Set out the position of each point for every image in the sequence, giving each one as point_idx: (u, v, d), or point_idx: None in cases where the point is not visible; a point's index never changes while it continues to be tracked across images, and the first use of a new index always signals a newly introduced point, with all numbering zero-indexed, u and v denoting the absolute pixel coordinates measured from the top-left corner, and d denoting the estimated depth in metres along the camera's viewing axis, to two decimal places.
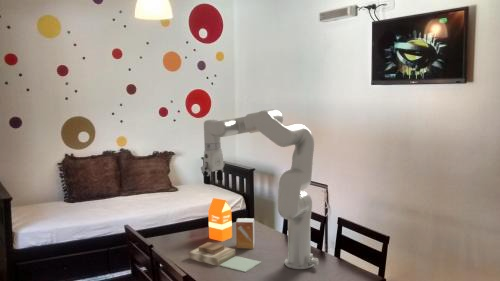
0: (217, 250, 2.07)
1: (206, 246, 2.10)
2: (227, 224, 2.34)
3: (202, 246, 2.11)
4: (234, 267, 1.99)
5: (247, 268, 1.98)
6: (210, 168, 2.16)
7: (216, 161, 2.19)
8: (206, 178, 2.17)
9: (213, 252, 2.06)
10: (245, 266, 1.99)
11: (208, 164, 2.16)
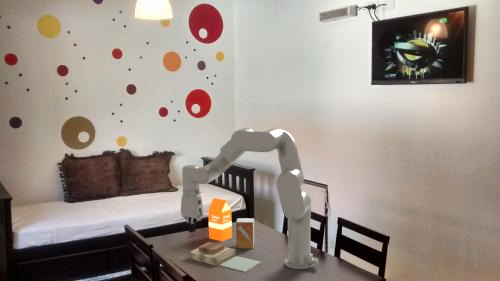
0: (217, 250, 2.07)
1: (206, 246, 2.10)
2: (227, 224, 2.34)
3: (202, 246, 2.11)
4: (234, 267, 1.99)
5: (247, 268, 1.98)
6: (202, 213, 2.14)
7: None
8: (194, 225, 2.15)
9: (213, 252, 2.06)
10: (245, 266, 1.99)
11: (200, 215, 2.14)
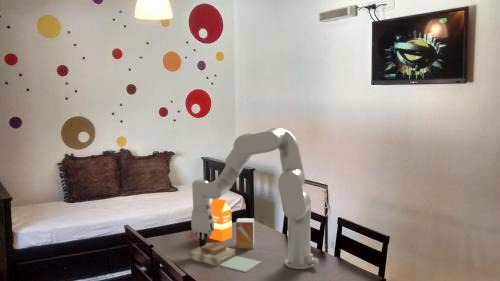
0: (219, 251, 2.07)
1: (208, 247, 2.09)
2: (227, 224, 2.34)
3: (204, 247, 2.10)
4: (234, 267, 1.99)
5: (247, 268, 1.98)
6: (213, 228, 2.12)
7: None
8: (205, 240, 2.13)
9: (215, 253, 2.05)
10: (245, 266, 1.99)
11: (211, 230, 2.11)
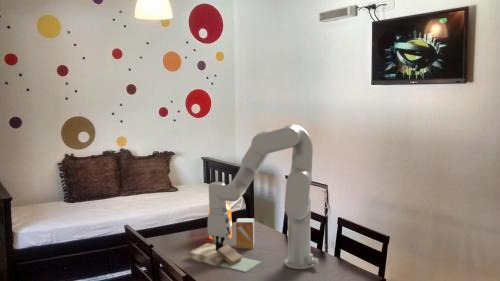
0: (235, 261, 2.02)
1: (225, 252, 2.04)
2: None
3: (221, 250, 2.04)
4: (234, 267, 1.99)
5: (247, 268, 1.98)
6: (230, 231, 2.07)
7: None
8: (222, 244, 2.08)
9: (231, 263, 2.00)
10: (245, 266, 1.99)
11: (228, 233, 2.06)
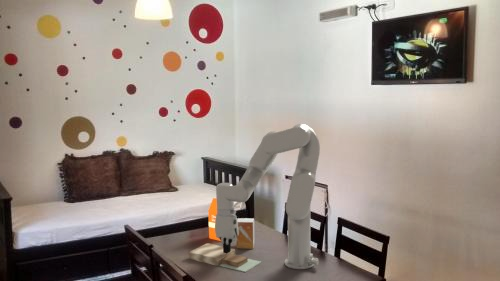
0: (241, 262, 2.00)
1: (229, 259, 2.03)
2: None
3: (225, 258, 2.03)
4: (234, 267, 1.99)
5: (247, 268, 1.98)
6: (238, 233, 2.04)
7: None
8: (229, 246, 2.05)
9: (237, 265, 1.99)
10: (245, 266, 1.99)
11: (236, 235, 2.04)
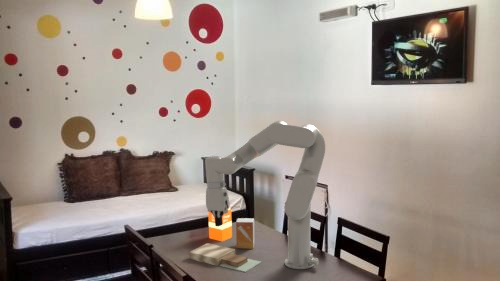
0: (241, 262, 2.00)
1: (229, 259, 2.03)
2: (227, 224, 2.34)
3: (225, 258, 2.03)
4: (234, 267, 1.99)
5: (247, 268, 1.98)
6: (229, 205, 2.05)
7: None
8: (221, 219, 2.07)
9: (237, 265, 1.99)
10: (245, 266, 1.99)
11: (227, 207, 2.05)
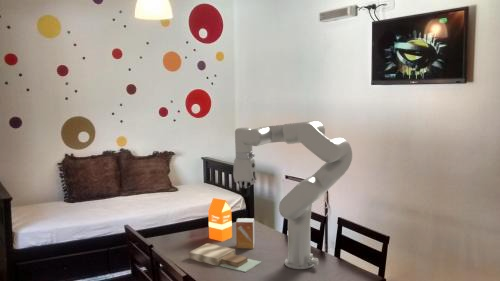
0: (241, 262, 2.00)
1: (229, 259, 2.03)
2: (227, 224, 2.34)
3: (225, 258, 2.03)
4: (234, 267, 1.99)
5: (247, 268, 1.98)
6: (256, 176, 2.09)
7: None
8: (248, 190, 2.10)
9: (237, 265, 1.99)
10: (245, 266, 1.99)
11: None
